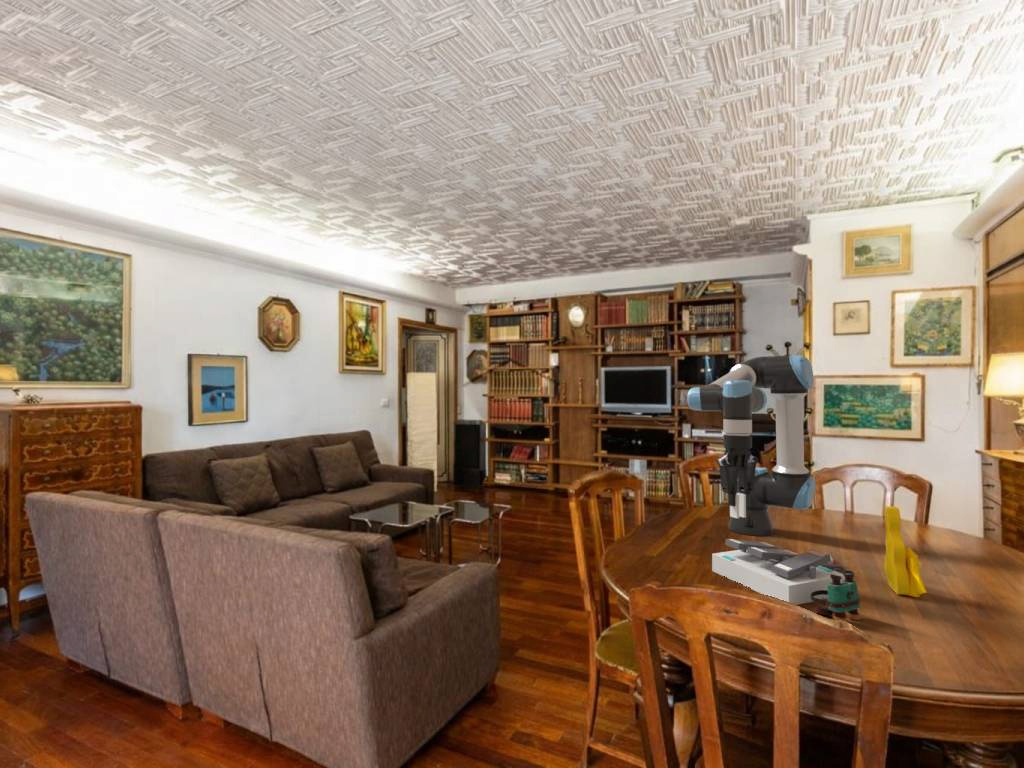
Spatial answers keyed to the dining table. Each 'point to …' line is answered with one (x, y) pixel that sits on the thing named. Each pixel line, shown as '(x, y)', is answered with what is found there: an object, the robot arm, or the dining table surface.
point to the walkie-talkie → (834, 565)
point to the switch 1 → (748, 544)
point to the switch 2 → (770, 553)
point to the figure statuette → (901, 559)
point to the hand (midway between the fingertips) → (737, 516)
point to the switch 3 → (800, 563)
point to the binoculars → (840, 598)
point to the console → (772, 576)
